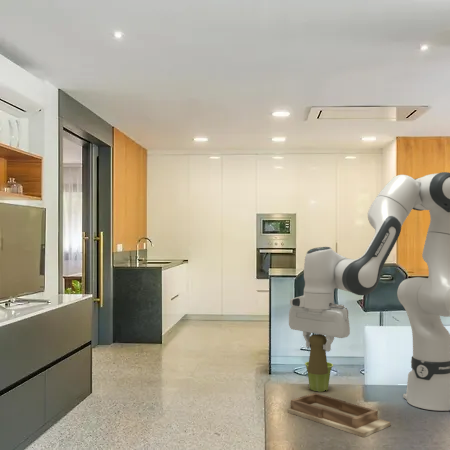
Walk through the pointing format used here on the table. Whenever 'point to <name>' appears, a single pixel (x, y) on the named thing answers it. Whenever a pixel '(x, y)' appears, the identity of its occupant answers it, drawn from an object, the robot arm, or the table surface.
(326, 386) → the plant pot
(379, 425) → the wooden tray
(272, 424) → the table surface
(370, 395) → the table surface
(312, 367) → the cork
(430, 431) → the table surface
